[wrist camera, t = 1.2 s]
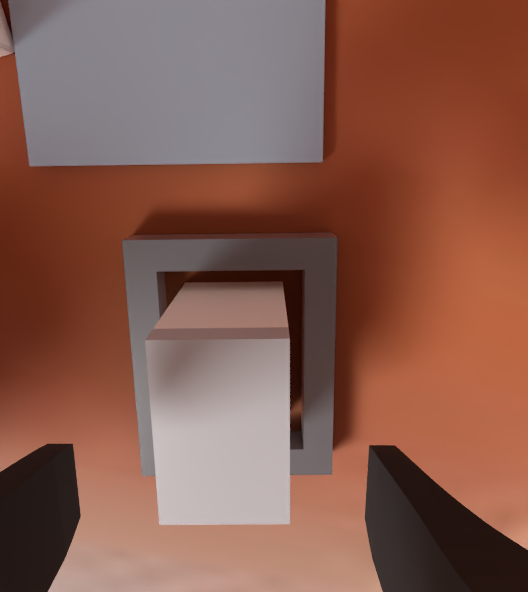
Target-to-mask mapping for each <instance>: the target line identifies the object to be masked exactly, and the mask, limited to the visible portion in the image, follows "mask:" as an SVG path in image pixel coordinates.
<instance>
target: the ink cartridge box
mask: <svg viewBox="0 0 528 592" xmlns="http://www.w3.org/2000/svg"><path fill="white" fill-rule="evenodd" d="M13 52H15V50H14V42H13V38H12V35H11V32H10V29H9V26H8V23H7V20H6V17H5V14H4V11H3V8H2V5H1V2H0V57H2V56H6V55H9V54H12V53H13Z"/></svg>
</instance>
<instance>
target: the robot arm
mask: <svg viewBox="0 0 528 592" xmlns="http://www.w3.org/2000/svg"><path fill="white" fill-rule="evenodd" d="M80 516H81V515H80V506H79V497H78V488H77V478H76V469H75V460H74V451H73V444H47V445H45V446H43V447H41V448H39V449H37V450H35V451H34V452H32V453H30V454H29V455H27V456H25V457H24V458H22V459H20V460H19V461H17V462H16V463H14V464H12V465H11V466H9V467H8V468H6V469H4V470H3V471H1V472H0V592H48V590H49V588H50V586H51V584H52V582H53V580H54V578H55V576H56V575H57V573H58V571H59V569H60V567H61V565H62V563H63V561H64V559H65V557H66V555H67V552H68V549H69V547H70V544H71V542H72V539H73V536H74V533H75V531H76V528H77V525H78V522H79V519H80ZM365 521H366V527H367V532H368V538H369V543H370V548H371V553H372V558H373V561H374V565H375V568H376V571H377V574H378V578H379V581H380V584H381V587H382V590H383V592H528V550H527V549H525V548H523V547H522V546H520V545H519V544H517V543H516V542H514V541H512V540H511V539H509V538H508V537H506V536H505V535H503V534H502V533H500V532H499V531H497V530H496V529H494V528H493V527H491V526H490V525H489V524H487V523H486V522H484V521H483V520H482V519H480V518H479V517H478V516H476V515H475V514H474V513H472V512H471V511H470V510H468V509H467V508H466V507H465V506H463V505H462V504H461V503H459V502H458V501H457V500H456V499H455V498H453V497H452V496H451V495H450V494H448V493H447V492H446V491H445V490H444V489H443V488H441V487H440V486H439V485H438V484H437V483H436V482H434V481H433V480H432V479H431V478H430V477H429V476H428V475H427V474H426V473H424V472H423V471H422V470H421V469H420V468H419V467H418V466H417V465H416V464H415V463H414V462H412V461H411V460H410V459H409V458H408V457H407V456H406V455H405V454H404V453H403V452H402V451H400V450H399V449H398V448H397V447H396V446H387V445H369V460H368V476H367V492H366V508H365Z"/></svg>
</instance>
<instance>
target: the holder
mask: <svg viewBox="0 0 528 592" xmlns="http://www.w3.org/2000/svg"><path fill="white" fill-rule="evenodd" d="M337 246H338V237H337V236H336V235H335V234H334V233H333V232H315V233H234V234H153V235H131V236H129V237H127V238H125V239H123V240H122V247H123V259H124V271H125V282H126V294H127V306H128V317H129V329H130V340H131V352H132V364H133V375H134V387H135V399H136V410H137V422H138V434H139V445H140V457H141V468H142V476H156V474H155V461H154V448H153V435H152V423H151V410H150V397H149V384H148V372H147V359H146V346H145V340H146V338H147V337H148V335H149V334H150V332H151V331H152V330H153V328H154V327H155V325H156V324H157V322H158V321H159V319H160V318H161V317H162V315H163V314H164V312H165V311H166V309H167V298H166V283H165V271H248V270H302V381H301V431H290V475H332V451H333V410H334V369H335V328H336V287H337Z"/></svg>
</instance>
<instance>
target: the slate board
mask: <svg viewBox="0 0 528 592" xmlns="http://www.w3.org/2000/svg"><path fill="white" fill-rule="evenodd" d="M8 3H9V11H10V19H11V26H12V34H13V42H14V50H15V57H16V65H17V73H18V81H19V89H20V96H21V104H22V112H23V120H24V128H25V135H26V143H27V151H28V159H29V166H90V165H164V164H237V163H311V162H323V118H324V56H325V0H8Z"/></svg>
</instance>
